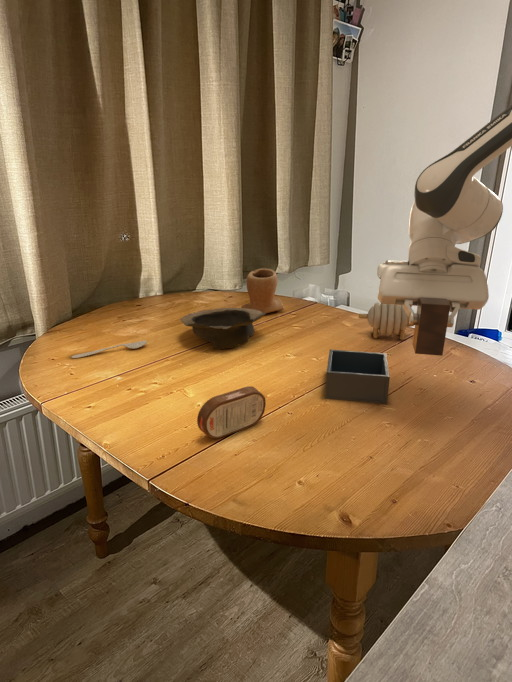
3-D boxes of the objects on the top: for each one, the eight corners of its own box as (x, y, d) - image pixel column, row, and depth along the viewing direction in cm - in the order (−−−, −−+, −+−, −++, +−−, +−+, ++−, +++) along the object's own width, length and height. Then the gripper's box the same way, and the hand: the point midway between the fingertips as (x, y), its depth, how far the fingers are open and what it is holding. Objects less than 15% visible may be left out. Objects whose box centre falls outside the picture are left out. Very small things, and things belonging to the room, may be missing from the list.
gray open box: (383, 377, 123) (386, 353, 121) (386, 403, 111) (389, 376, 108) (328, 373, 125) (329, 349, 123) (325, 398, 113) (326, 372, 111)
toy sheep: (418, 343, 144) (422, 307, 140) (359, 341, 146) (362, 305, 142) (411, 331, 154) (415, 296, 150) (356, 329, 156) (358, 295, 152)
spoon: (149, 348, 141) (148, 343, 140) (72, 360, 133) (71, 354, 132) (145, 343, 144) (145, 338, 144) (70, 355, 137) (70, 349, 136)
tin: (259, 416, 106) (259, 380, 102) (268, 422, 103) (268, 385, 100) (197, 439, 97) (195, 400, 94) (205, 446, 95) (203, 407, 92)
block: (438, 346, 99) (445, 297, 95) (442, 355, 94) (450, 305, 91) (412, 344, 100) (418, 295, 96) (415, 353, 95) (421, 303, 91)
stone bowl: (243, 359, 133) (240, 326, 130) (166, 351, 143) (161, 320, 140) (279, 329, 154) (277, 300, 151) (208, 324, 164) (205, 296, 161)
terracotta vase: (252, 320, 164) (252, 275, 158) (237, 310, 174) (236, 268, 168) (292, 314, 170) (293, 270, 165) (275, 304, 180) (276, 263, 175)
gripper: (379, 251, 99) (376, 313, 93) (489, 256, 95) (493, 321, 90) (376, 268, 104) (373, 328, 99) (480, 273, 101) (483, 335, 96)
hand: (431, 324), depth 94 cm, fingers closed on block, 5 cm apart
